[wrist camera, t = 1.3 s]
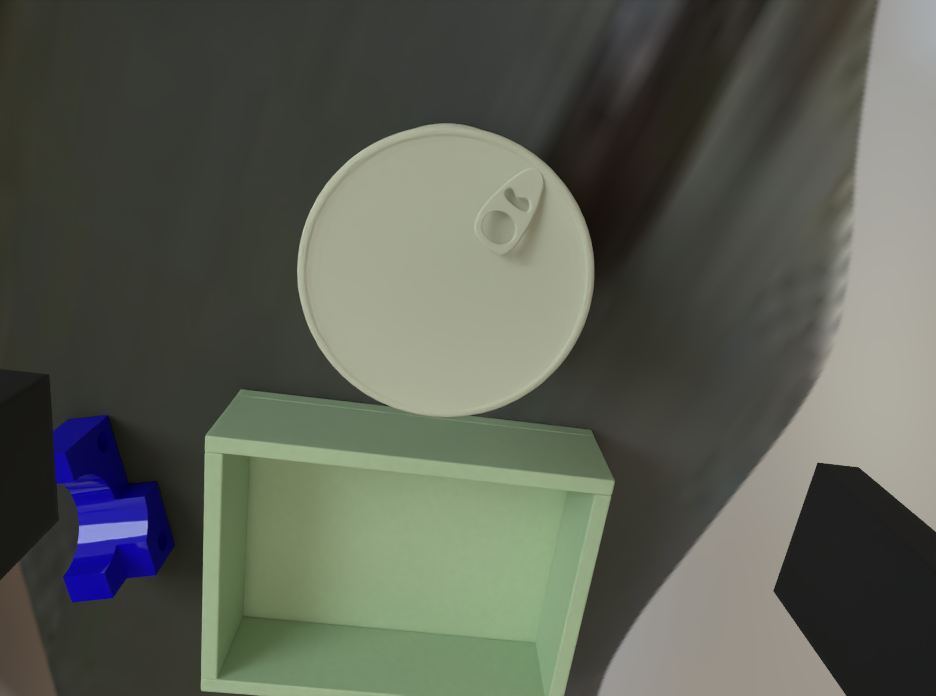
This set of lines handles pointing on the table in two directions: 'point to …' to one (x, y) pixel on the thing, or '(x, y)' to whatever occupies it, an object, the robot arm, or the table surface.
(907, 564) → the robot arm
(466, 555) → the bin
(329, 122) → the table surface
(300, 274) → the can
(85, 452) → the cable holder
